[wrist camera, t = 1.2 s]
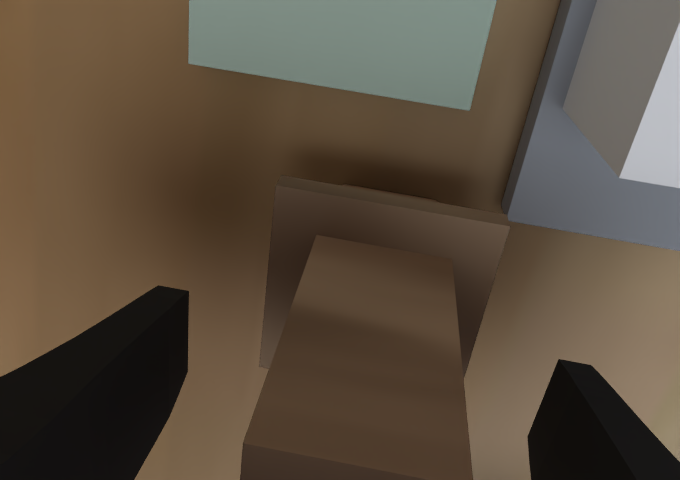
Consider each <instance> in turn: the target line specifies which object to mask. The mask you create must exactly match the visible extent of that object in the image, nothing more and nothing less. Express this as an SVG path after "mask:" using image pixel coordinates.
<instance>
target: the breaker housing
mask: <svg viewBox="0 0 680 480" xmlns="http://www.w3.org/2000/svg"><path fill="white" fill-rule="evenodd" d="M501 206H502V209H503V212H504V214H507V217H508V220H509V221H512V222H517V223H523V224H529V225H534V226H540V227H546V228H551V229H557V230H563V231H569V232H574V233H580V234H586V235H591V236H597V237H603V238H608V239H614V240H620V241H626V242H631V243H637V244H643V245H648V246H654V247H660V248H665V249H671V250H677V251H680V0H561V2H560V6H559V9H558V12H557V16H556V19H555V23H554V26H553V30H552V33H551V36H550V40H549V43H548V47H547V50H546V53H545V57H544V60H543V64H542V67H541V71H540V74H539V77H538V81H537V84H536V88H535V91H534V94H533V98H532V101H531V105H530V108H529V111H528V115H527V118H526V122H525V125H524V129H523V132H522V135H521V139H520V142H519V146H518V149H517V152H516V156H515V159H514V163H513V166H512V170H511V173H510V176H509V180H508V183H507V187H506V190H505V193H504V197H503V200H502V204H501Z"/></svg>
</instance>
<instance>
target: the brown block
mask: <svg viewBox="0 0 680 480" xmlns="http://www.w3.org/2000/svg"><path fill="white" fill-rule="evenodd" d="M509 230H510V223H509V220H508V217H507V214H501V213H495V212H490V211H484V210H478V209H472V208H467V207H461V206H455V205H449V204H444V203H438V202H437V200H433V199H428V198H422V197H416V196H410V195H405V194H399V193H393V192H388V191H382V190H376V189H370V188H365V187H359V186H353V185H348V184H343V186H341V185H335V184H329V183H324V182H318V181H312V180H307V179H301V178H295V177H289V176H284V175H281V177H280V179H279V180H278V182H277V184H276V187H275V198H274V209H273V220H272V231H271V242H270V253H269V264H268V275H267V286H266V297H265V308H264V320H263V331H262V342H261V353H260V364H259V367H263V368H268V369H269V371H268V374H267V377H266V379H265V382H264V385H263V388H262V391H261V394H260V396H259V399H258V402H257V405H256V408H255V411H254V414H253V416H252V419H251V422H250V425H249V428H248V431H247V433H246V436H245V439H244V442H243V450H242V463H241V475H240V480H473V475H472V465H471V454H470V444H469V433H468V422H467V412H466V401H465V391H464V376H465V373H466V370H467V367H468V363H469V360H470V357H471V354H472V350H473V347H474V344H475V341H476V337H477V334H478V331H479V328H480V324H481V321H482V318H483V314H484V311H485V308H486V305H487V301H488V298H489V295H490V292H491V288H492V285H493V282H494V279H495V275H496V272H497V269H498V266H499V262H500V259H501V256H502V253H503V249H504V246H505V243H506V240H507V236H508V233H509Z"/></svg>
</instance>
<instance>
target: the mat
mask: <svg viewBox="0 0 680 480" xmlns="http://www.w3.org/2000/svg"><path fill="white" fill-rule="evenodd" d="M496 1H497V0H189V58H188V64H193V65H199V66H205V67H211V68H217V69H223V70H229V71H235V72H241V73H247V74H253V75H259V76H265V77H271V78H277V79H283V80H289V81H295V82H301V83H307V84H312V85H318V86H324V87H330V88H336V89H342V90H348V91H354V92H360V93H366V94H372V95H378V96H384V97H390V98H396V99H402V100H408V101H414V102H420V103H426V104H432V105H438V106H444V107H450V108H456V109H462V110H468V111H470V107H471V103H472V99H473V95H474V91H475V87H476V83H477V79H478V75H479V71H480V66H481V62H482V58H483V54H484V50H485V46H486V42H487V38H488V34H489V30H490V26H491V21H492V17H493V13H494V9H495V5H496Z"/></svg>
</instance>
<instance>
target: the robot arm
mask: <svg viewBox="0 0 680 480" xmlns="http://www.w3.org/2000/svg"><path fill="white" fill-rule="evenodd" d="M188 309H189V291H186V290H180V289H175V288H169V287H164V286H157V287H155V288H154V289H152V290H150V291H148V292H147V293H145V294H144V295H142V296H141V297H139V298H137V299H136V300H134V301H133V302H131V303H130V304H128V305H126V306H125V307H123V308H122V309H120V310H119V311H117V312H115V313H114V314H112V315H111V316H109V317H107V318H106V319H104V320H102V321H101V322H99V323H98V324H96V325H94V326H93V327H91V328H89V329H88V330H86V331H84V332H83V333H81V334H80V335H78V336H76V337H75V338H73V339H71V340H69V341H67V342H66V343H64V344H62V345H60V346H58V347H56V348H55V349H53V350H51V351H49V352H47V353H46V354H44V355H42V356H40V357H38V358H37V359H35V360H33V361H31V362H29V363H27V364H26V365H24V366H22V367H20V368H18V369H16V370H14V371H12V372H10V373H8V374H6V375H4V376H1V377H0V480H134V479H135V477H136V475H137V474H138V472H139V470H140V468H141V467H142V465H143V463H144V461H145V459H146V458H147V456H148V454H149V452H150V451H151V449H152V447H153V445H154V444H155V442H156V440H157V438H158V436H159V435H160V433H161V431H162V429H163V427H164V426H165V424H166V422H167V420H168V418H169V416H170V414H171V412H172V409H173V407H174V404H175V402H176V400H177V397H178V395H179V392H180V390H181V387H182V385H183V382H184V380H185V377H186V375H187V372H188ZM528 448H529V461H530V472H531V480H680V462H679V461H678V460H677V459H676V458H675V457H674V456H673V455H672V454H671V452H670V451H669V450H668V449H667V448H666V447H665V446H664V445H663V444H662V443H661V442H660V441H659V439H658V438H657V437H656V436H655V435H654V434H653V433H652V432H651V431H650V430H649V428H648V427H647V426H646V425H645V424H644V423H643V422H642V421H641V420H640V418H639V417H638V416H637V415H636V414H635V413H634V412H633V411H632V409H631V408H630V407H629V406H628V405H627V404H626V403H625V402H624V400H623V399H622V398H621V397H620V396H619V395H618V394H617V393H616V391H615V390H614V389H613V388H612V387H611V386H610V385H609V384H608V382H607V381H606V380H605V379H604V378H603V377H602V376H601V375H600V374H599V373H598V372H597V371H596V370H595V369H594V368H593V367H592V366H591V365H587V364H582V363H577V362H571V361H566V360H560V359H559V360H558V362H557V365H556V367H555V370H554V372H553V375H552V377H551V380H550V382H549V385H548V387H547V390H546V392H545V395H544V397H543V400H542V402H541V405H540V407H539V409H538V412H537V414H536V417H535V419H534V422H533V424H532V427H531V429H530V432H529V434H528Z"/></svg>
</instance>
